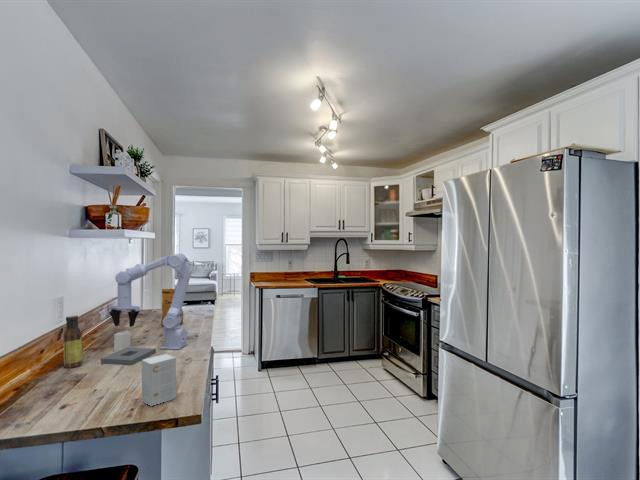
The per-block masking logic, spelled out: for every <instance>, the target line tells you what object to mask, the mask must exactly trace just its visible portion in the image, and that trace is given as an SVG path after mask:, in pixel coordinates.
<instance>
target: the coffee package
mask: <svg viewBox="0 0 640 480" xmlns="http://www.w3.org/2000/svg"><path fill="white" fill-rule="evenodd" d="M175 289H176V288H162V289H161V311H162V313H161V321H160V322H161V323H160V325H161V326H163V319H164V318H165V317H166V315H167V312H168V311H169V309H170V307H171V303H172V299H173V296H174V292H175ZM181 309H182V313H181V316H182V321H181V323H180V326H182V324H184V311H183V307H182V308H181ZM163 327H164V326H163Z"/></svg>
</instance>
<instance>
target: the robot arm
mask: <svg viewBox="0 0 640 480" xmlns="http://www.w3.org/2000/svg"><path fill="white" fill-rule="evenodd" d="M162 266H165V267H166V266H167V267H170V268H172V269H174V270H175V272H176V273H177V275H178V278H177V282H176V286H175V288H174V289H175V292H174V296H173V299H172V303H171V307H170V309H169V311H168V312H167V315H166V317H165V318H164V319H163V327H164V329H163V330H164V331H163V333H164V334H163V335H164V336H163V339H164V340H163V346H161V347H160V348H159V349H163V350H181V349H182V348H184V347H186V346H188V343H187V337H188V336H187V329H186V328H182V325H180V323H181V321H182V316H181V313H182V311H183V305H184V301H185V298H186V293H187V290H188V287H189V284H190V283H189V282H190V279H191V276H192V271H191V267H190V263H189V258H187V256H186V255H185V254H183V253H174V254H170V255H167V256H162V257H161V258H158V259H156V260H154V261H151V262H150V263H148V264H142V263H140V264H139V263H137V264H135V266H133V267H131V268H125V271H124V270H123V271H119V272H118V273H117V274H116V275H115V277H114V278H115V282H116V283H117V303H116V304H117V305H109V306H108V311H109V312H108V313H109V316H110V317H111V319H112V322H113V324H114V327H118V326H120V323H121V321H120V319H121V313H122V311H125V312H126V311H127V314H128V319H129V320H128V321H129V328H131V327H134V326H135V323H136V320H137V317H138V315H139V314H140V311H141V306H140V305H139V306H138V305H132V282H133V281H136V280H138V279H140V278H142V277H146V276H147V275H148V273H149V272H150V271H152V270H156V269H157V268H160V267H162ZM181 308H182V309H181Z"/></svg>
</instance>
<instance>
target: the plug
mask: <svg viewBox="0 0 640 480" xmlns="http://www.w3.org/2000/svg"><path fill="white" fill-rule="evenodd" d="M113 335H114V337H113V339H114V344H113V345H114V347H113V348H114V349H113V353H115V352H118V351H120V350H122V349H125V348H127V347H130V348H131V331H130V330H129V331H128V330H126V331H123V330H122V331H120V332H118V333H115V334H113Z"/></svg>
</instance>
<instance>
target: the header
mask: <svg viewBox="0 0 640 480" xmlns="http://www.w3.org/2000/svg"><path fill="white" fill-rule="evenodd" d="M155 354H157V349H156V348H151V347H131V346H130V347H127V348H125V349H122V350H120V351H118V352H113V353H111V354H108V355H105V356H104V357H102V358H100V365H102V364H103V365H104V364H105V365H118V366H119V365H121V366H133V365H135V364H137V363H139V362H142V360H144V359H148V358H150V357H151V356H153V355H155Z"/></svg>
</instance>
